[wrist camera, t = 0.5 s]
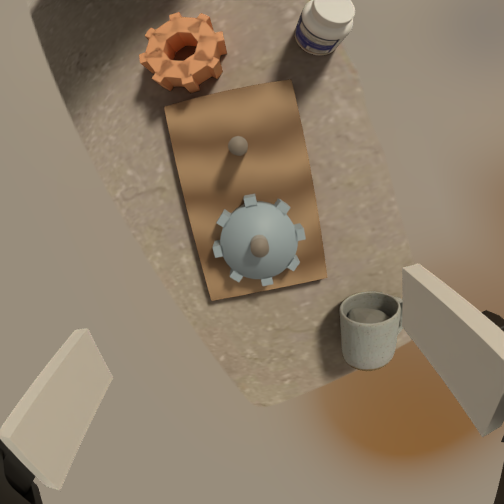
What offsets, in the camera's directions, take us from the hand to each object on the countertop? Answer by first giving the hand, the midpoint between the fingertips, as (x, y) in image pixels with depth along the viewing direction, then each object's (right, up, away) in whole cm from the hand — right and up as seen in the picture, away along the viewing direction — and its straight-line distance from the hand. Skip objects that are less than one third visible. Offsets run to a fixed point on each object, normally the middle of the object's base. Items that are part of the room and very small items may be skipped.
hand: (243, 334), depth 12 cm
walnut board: (0, +10, +23) cm, 25 cm away
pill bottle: (+8, +28, +17) cm, 34 cm away
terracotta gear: (-7, +25, +18) cm, 32 cm away
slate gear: (+1, +5, +23) cm, 23 cm away
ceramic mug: (+16, -5, +28) cm, 33 cm away
